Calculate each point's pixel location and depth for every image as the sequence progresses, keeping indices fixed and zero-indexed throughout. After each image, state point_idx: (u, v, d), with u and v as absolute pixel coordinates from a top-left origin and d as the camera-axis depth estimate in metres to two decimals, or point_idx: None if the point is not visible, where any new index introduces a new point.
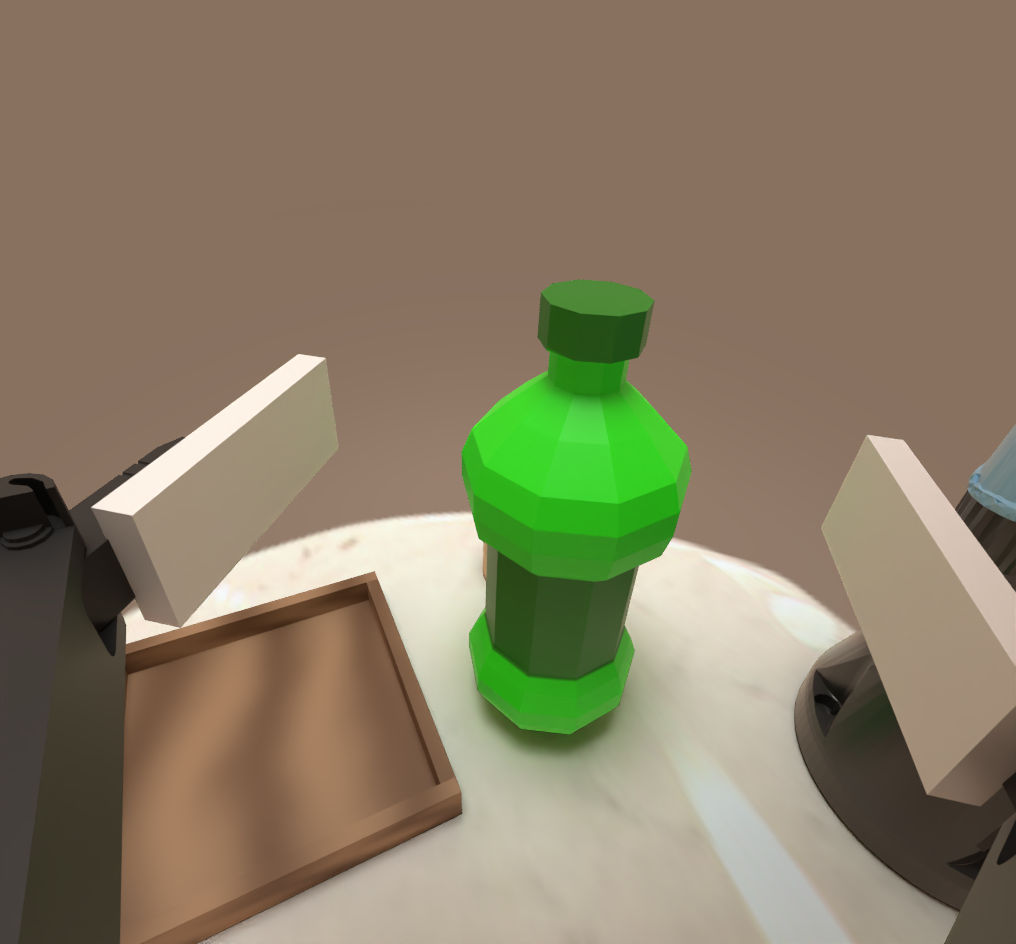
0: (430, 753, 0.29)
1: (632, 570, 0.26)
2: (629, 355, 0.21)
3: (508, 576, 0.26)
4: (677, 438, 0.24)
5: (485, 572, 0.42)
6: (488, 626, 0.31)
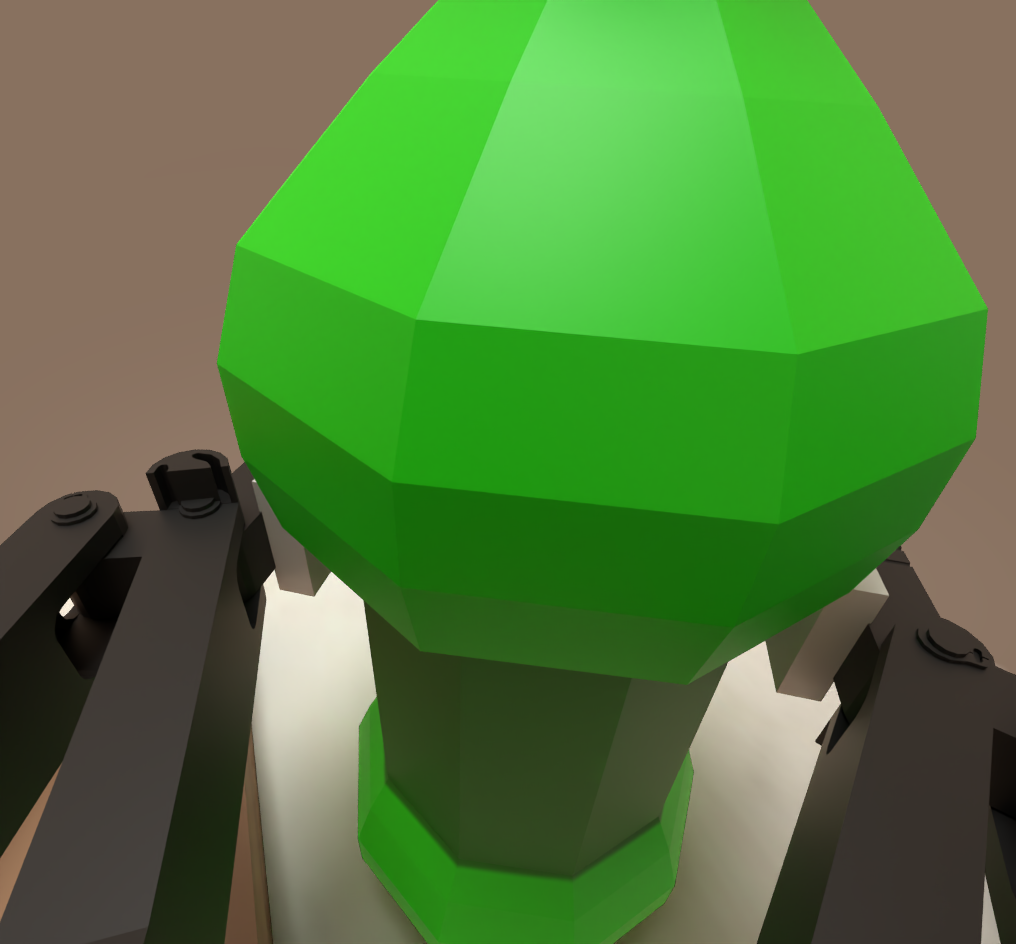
0: None
1: None
2: None
3: (391, 634, 0.09)
4: None
5: None
6: None
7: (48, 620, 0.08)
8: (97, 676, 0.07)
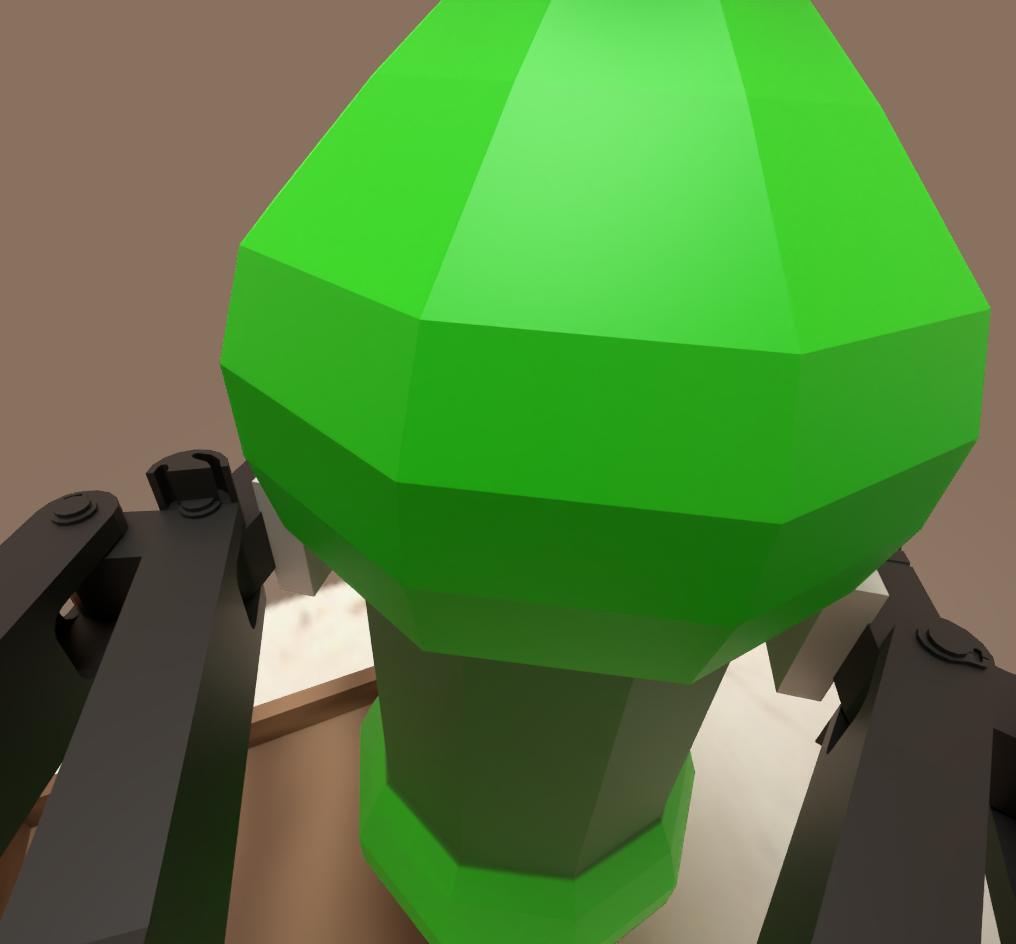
0: None
1: None
2: None
3: (393, 634, 0.09)
4: None
5: None
6: None
7: (48, 620, 0.08)
8: (96, 676, 0.07)
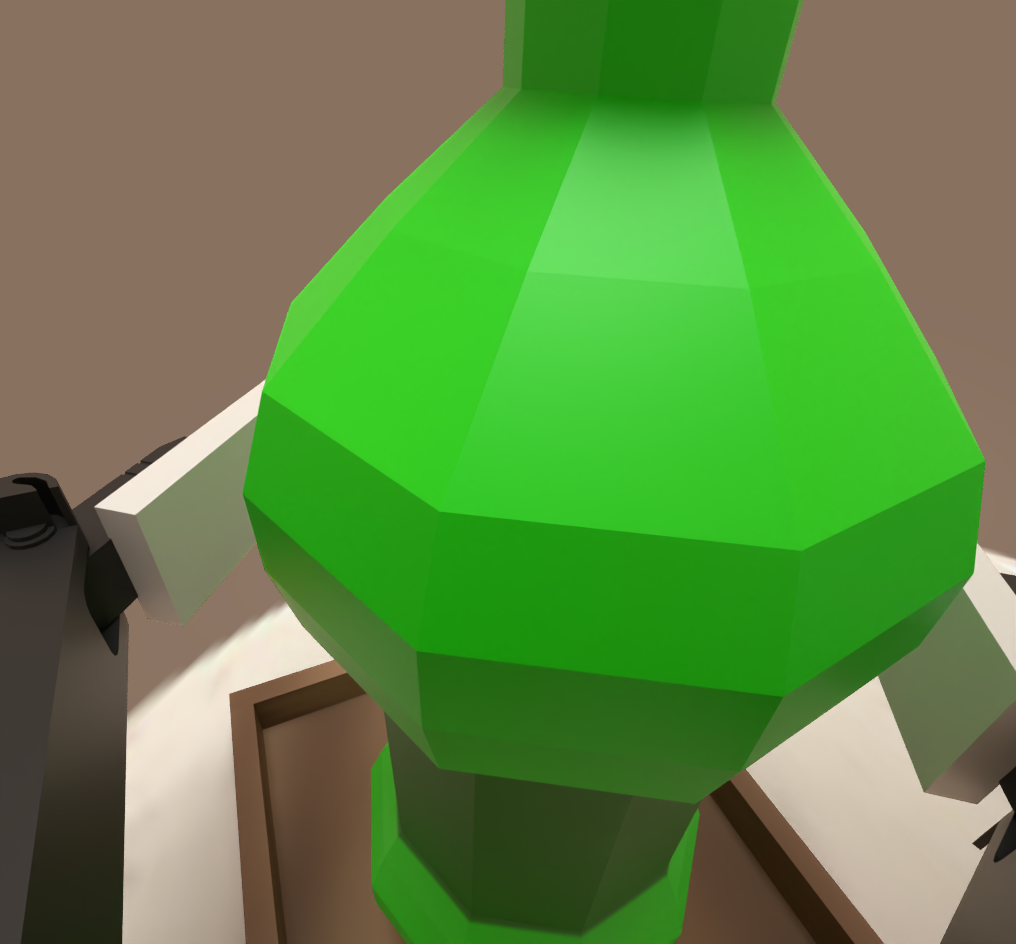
0: (817, 892, 0.17)
1: None
2: None
3: None
4: (916, 326, 0.08)
5: None
6: None
7: None
8: None
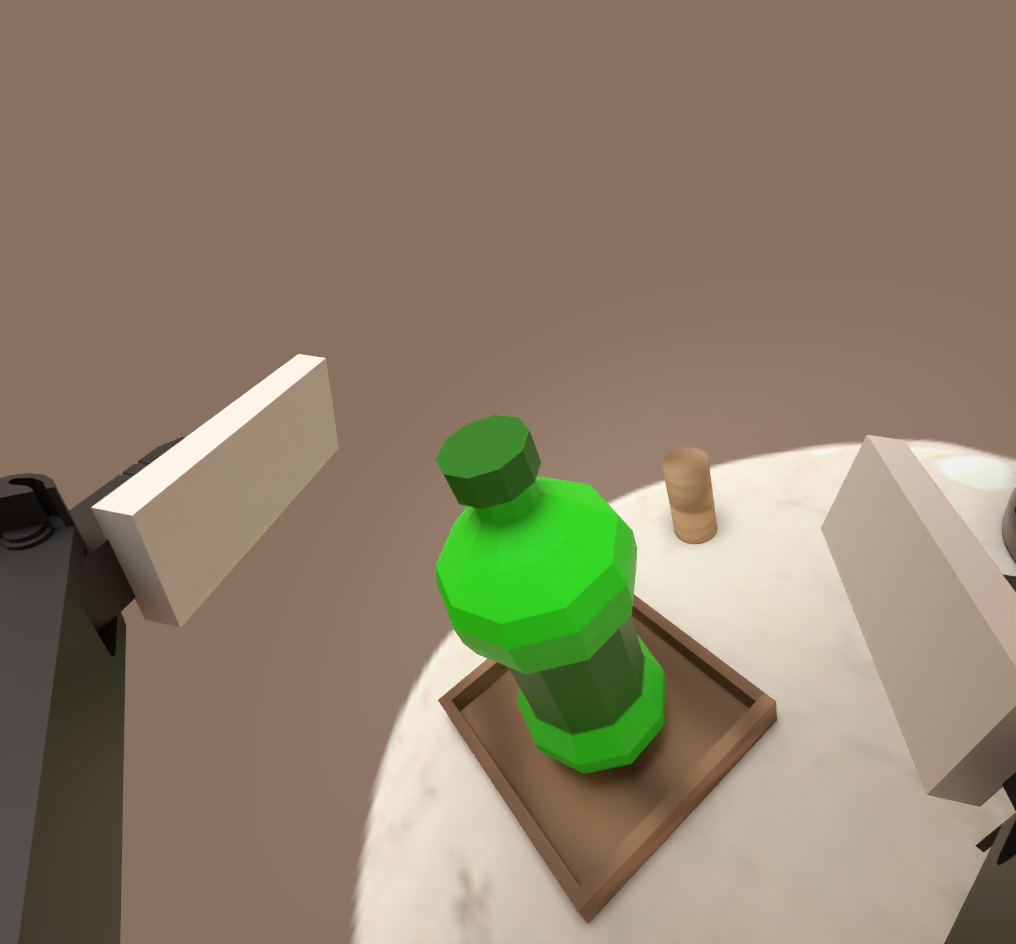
0: (734, 683, 0.36)
1: None
2: (525, 485, 0.24)
3: None
4: (605, 514, 0.27)
5: (681, 534, 0.49)
6: None
7: None
8: None
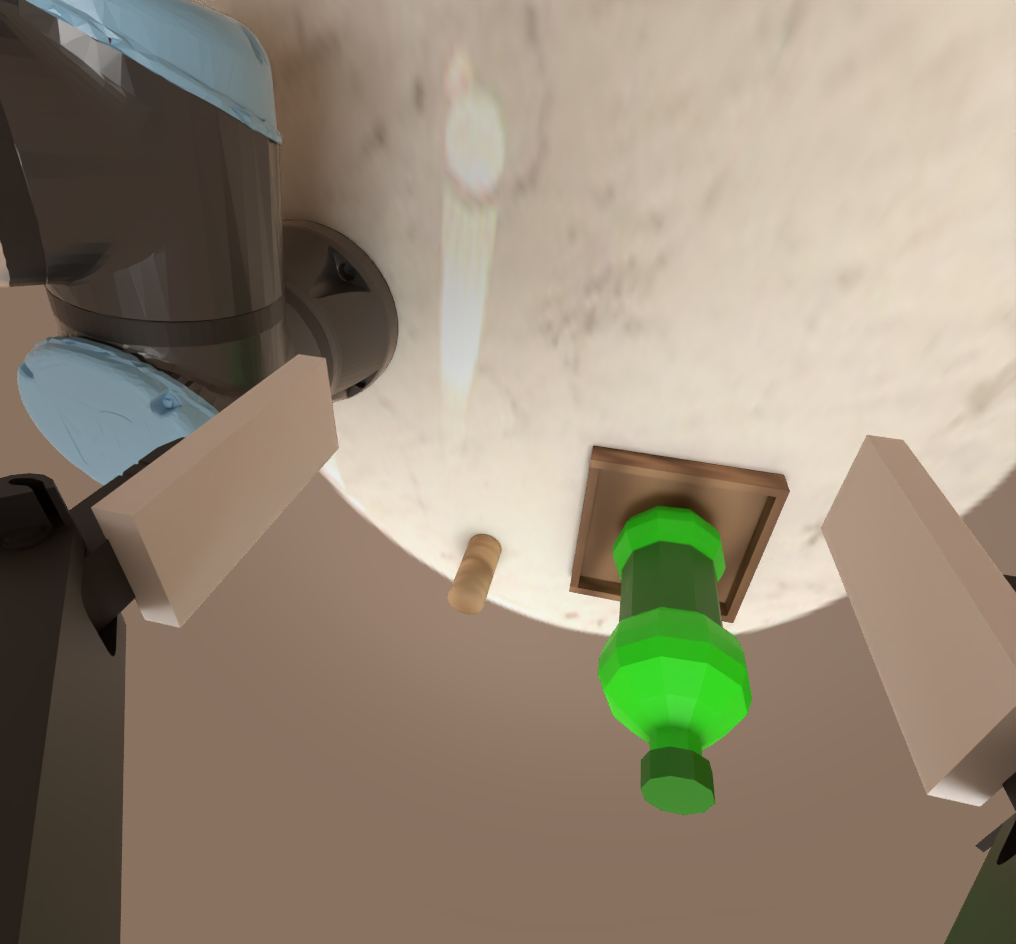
0: (595, 483, 0.50)
1: (663, 602, 0.41)
2: (677, 750, 0.33)
3: None
4: (628, 676, 0.37)
5: (499, 554, 0.59)
6: None
7: None
8: None
